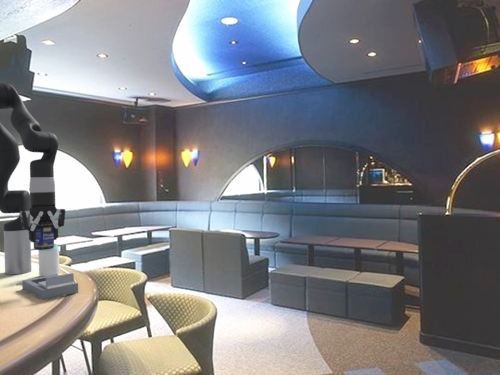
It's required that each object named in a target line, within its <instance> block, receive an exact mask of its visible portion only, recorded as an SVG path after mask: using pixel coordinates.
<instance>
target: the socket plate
mask: <svg viewBox="0 0 500 375" xmlns="http://www.w3.org/2000/svg"><path fill="white" fill-rule="evenodd" d="M53 276H59V274H58V275H50V276H44V277H42V276H39V277H34V278H28V279H23V280H21V282H22V290H23V291H25V292H27V293H28V294H31V295H33V296H34V297H35V298H38V299H40V300H42V301H46V300H50V299H56V298H60V297H64V295H65V296H68V294H70V295H74V294H78V293H79V283H78V282H75V281H74V284H71V285H66V286H61V287H56V288H51V289H46V288H44V287H42V286H39V285H38V282H43V281H46V278H47V277H53Z"/></svg>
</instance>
